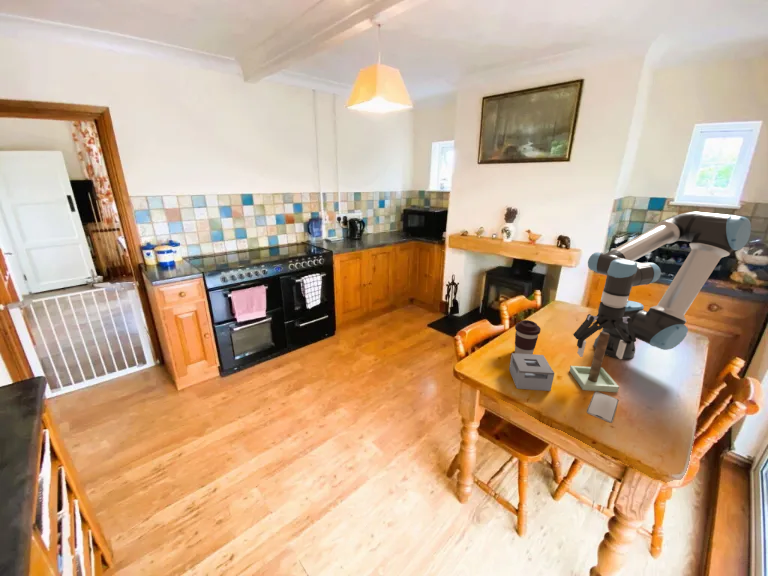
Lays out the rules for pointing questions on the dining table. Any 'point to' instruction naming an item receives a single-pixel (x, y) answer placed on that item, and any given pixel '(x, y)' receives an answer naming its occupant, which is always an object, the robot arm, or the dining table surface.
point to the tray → (602, 383)
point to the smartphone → (602, 406)
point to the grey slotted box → (531, 372)
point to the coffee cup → (526, 336)
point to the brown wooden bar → (598, 356)
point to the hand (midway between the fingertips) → (599, 356)
